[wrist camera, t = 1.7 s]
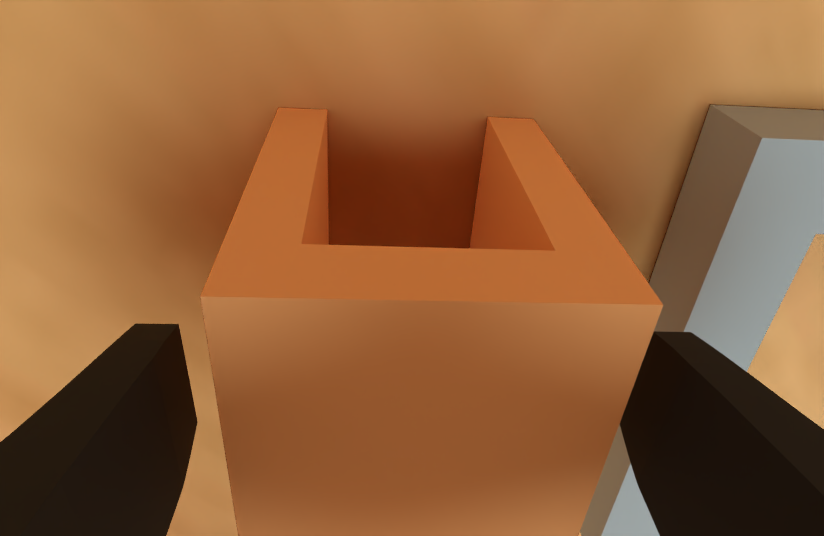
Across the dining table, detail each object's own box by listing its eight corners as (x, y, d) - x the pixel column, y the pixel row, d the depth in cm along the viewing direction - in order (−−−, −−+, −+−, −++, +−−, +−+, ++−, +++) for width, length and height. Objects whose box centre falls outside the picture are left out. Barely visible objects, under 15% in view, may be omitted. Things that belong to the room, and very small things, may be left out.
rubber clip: (499, 305, 15) (573, 547, 10) (290, 302, 15) (241, 554, 9) (533, 118, 13) (663, 304, 7) (278, 107, 12) (199, 296, 7)
